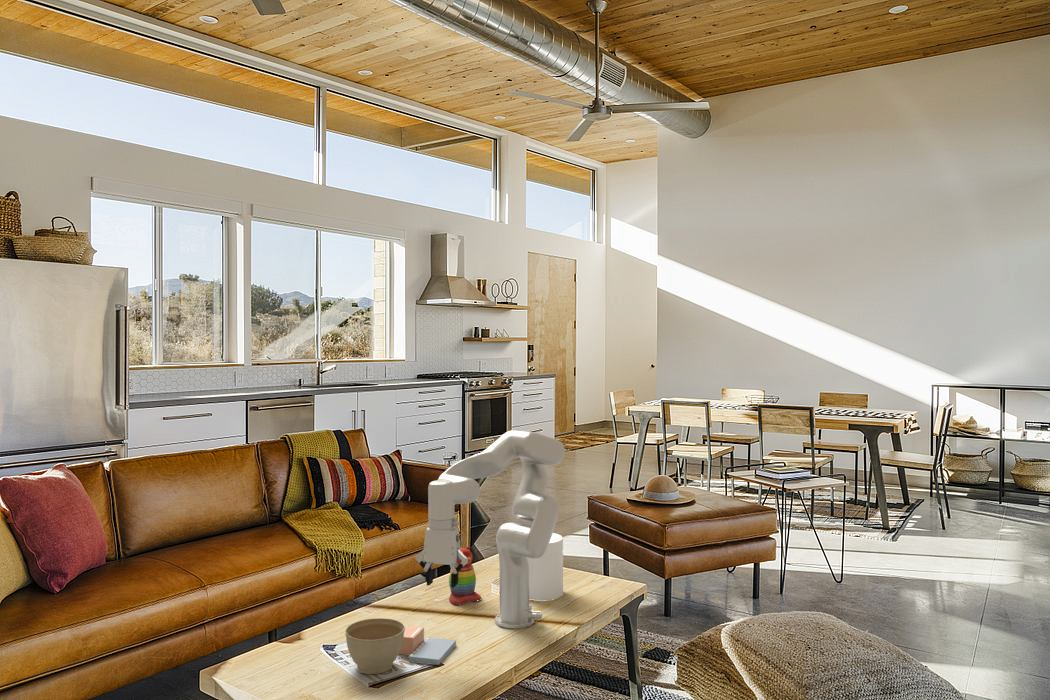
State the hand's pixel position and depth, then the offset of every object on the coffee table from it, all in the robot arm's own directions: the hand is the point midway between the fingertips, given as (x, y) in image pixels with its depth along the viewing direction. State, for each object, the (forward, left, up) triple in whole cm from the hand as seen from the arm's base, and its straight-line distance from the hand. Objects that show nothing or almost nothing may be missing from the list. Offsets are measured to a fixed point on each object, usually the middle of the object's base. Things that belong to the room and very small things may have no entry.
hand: (441, 584), depth 218 cm
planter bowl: (+14, +14, -20) cm, 28 cm away
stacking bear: (+9, -44, -20) cm, 49 cm away
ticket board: (+2, +1, -20) cm, 20 cm away
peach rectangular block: (+10, 0, -20) cm, 22 cm away
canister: (-16, -56, -20) cm, 62 cm away
